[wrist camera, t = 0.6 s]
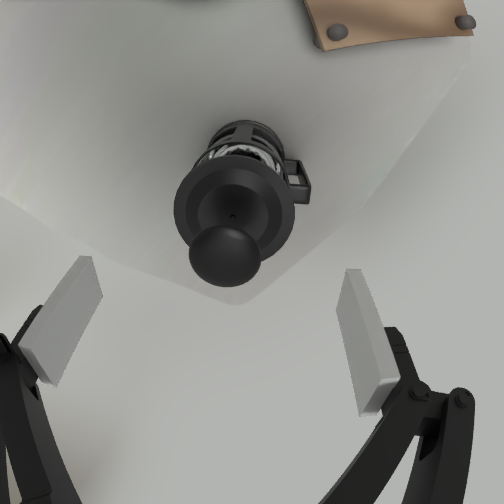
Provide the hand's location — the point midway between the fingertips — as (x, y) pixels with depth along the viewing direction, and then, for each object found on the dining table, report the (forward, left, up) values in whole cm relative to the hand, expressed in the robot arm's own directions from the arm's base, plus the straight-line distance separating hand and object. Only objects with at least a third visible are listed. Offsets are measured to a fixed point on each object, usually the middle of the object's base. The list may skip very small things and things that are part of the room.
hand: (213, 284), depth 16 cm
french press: (0, +1, -26) cm, 26 cm away
